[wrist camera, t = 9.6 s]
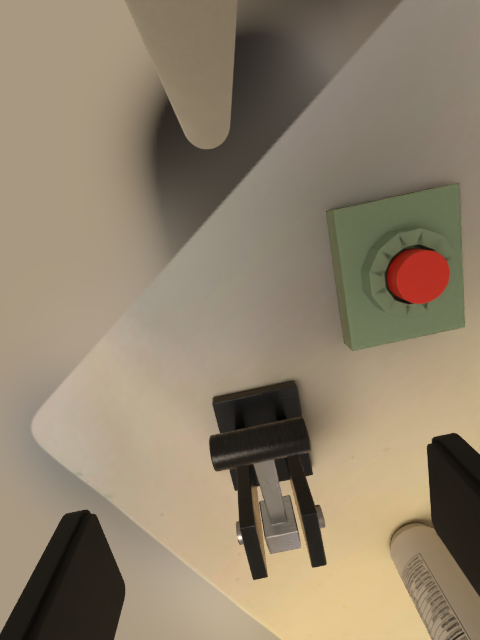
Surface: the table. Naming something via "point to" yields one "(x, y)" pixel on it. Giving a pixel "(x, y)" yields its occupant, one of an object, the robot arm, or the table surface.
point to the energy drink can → (436, 584)
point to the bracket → (263, 410)
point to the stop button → (418, 275)
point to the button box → (376, 256)
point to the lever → (266, 471)
